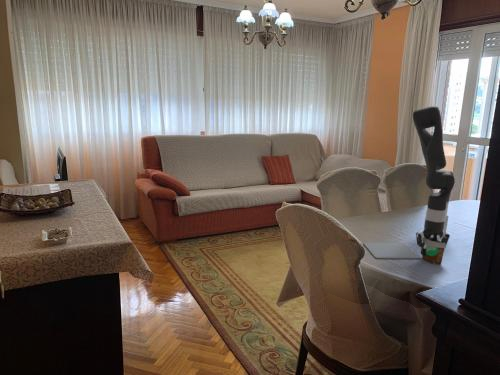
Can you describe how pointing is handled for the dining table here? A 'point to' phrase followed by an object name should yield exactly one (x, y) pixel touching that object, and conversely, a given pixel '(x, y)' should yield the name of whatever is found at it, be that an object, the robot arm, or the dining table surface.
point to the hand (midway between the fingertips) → (429, 255)
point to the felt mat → (391, 251)
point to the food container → (434, 251)
